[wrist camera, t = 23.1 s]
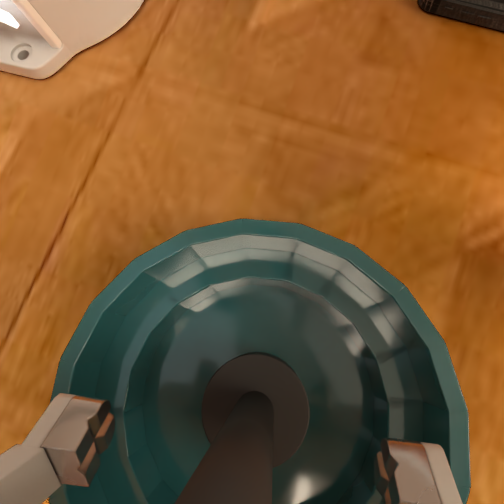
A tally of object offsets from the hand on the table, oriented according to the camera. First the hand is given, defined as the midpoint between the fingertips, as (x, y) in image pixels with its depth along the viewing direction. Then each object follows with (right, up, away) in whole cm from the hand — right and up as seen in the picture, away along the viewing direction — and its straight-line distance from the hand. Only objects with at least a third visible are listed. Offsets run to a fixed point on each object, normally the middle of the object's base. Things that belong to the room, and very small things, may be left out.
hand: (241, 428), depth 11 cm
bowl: (+1, -3, +10) cm, 11 cm away
